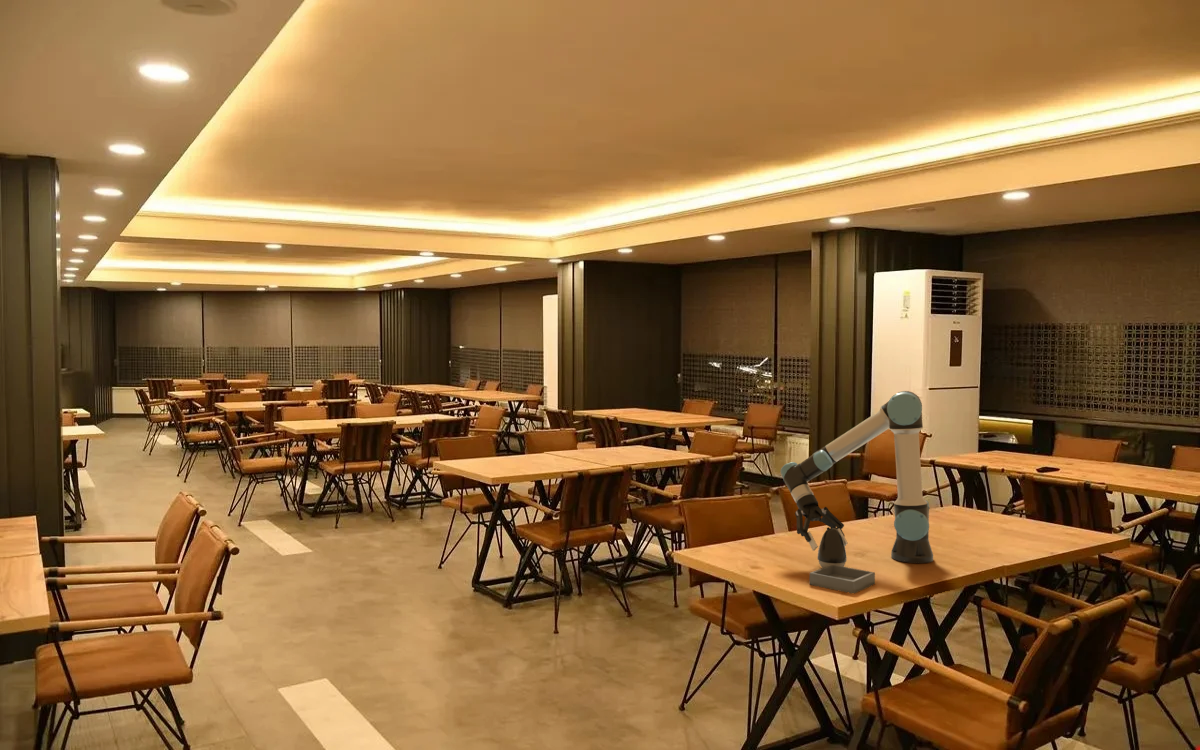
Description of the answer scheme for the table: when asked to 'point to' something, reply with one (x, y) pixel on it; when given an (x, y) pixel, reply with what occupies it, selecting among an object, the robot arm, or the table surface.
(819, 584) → the grey tray
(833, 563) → the dark grey oval piece
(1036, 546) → the table surface
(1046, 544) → the table surface
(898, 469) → the robot arm
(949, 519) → the table surface
